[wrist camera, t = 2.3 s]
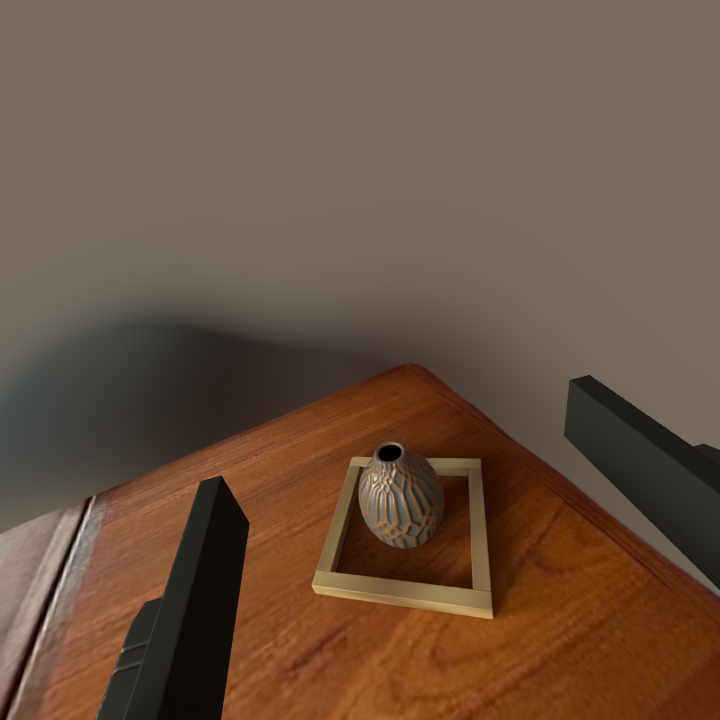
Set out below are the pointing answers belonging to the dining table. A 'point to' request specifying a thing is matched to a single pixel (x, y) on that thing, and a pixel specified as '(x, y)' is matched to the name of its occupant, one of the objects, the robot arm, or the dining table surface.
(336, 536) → the oak frame
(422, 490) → the vase
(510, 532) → the dining table surface
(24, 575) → the dining table surface
